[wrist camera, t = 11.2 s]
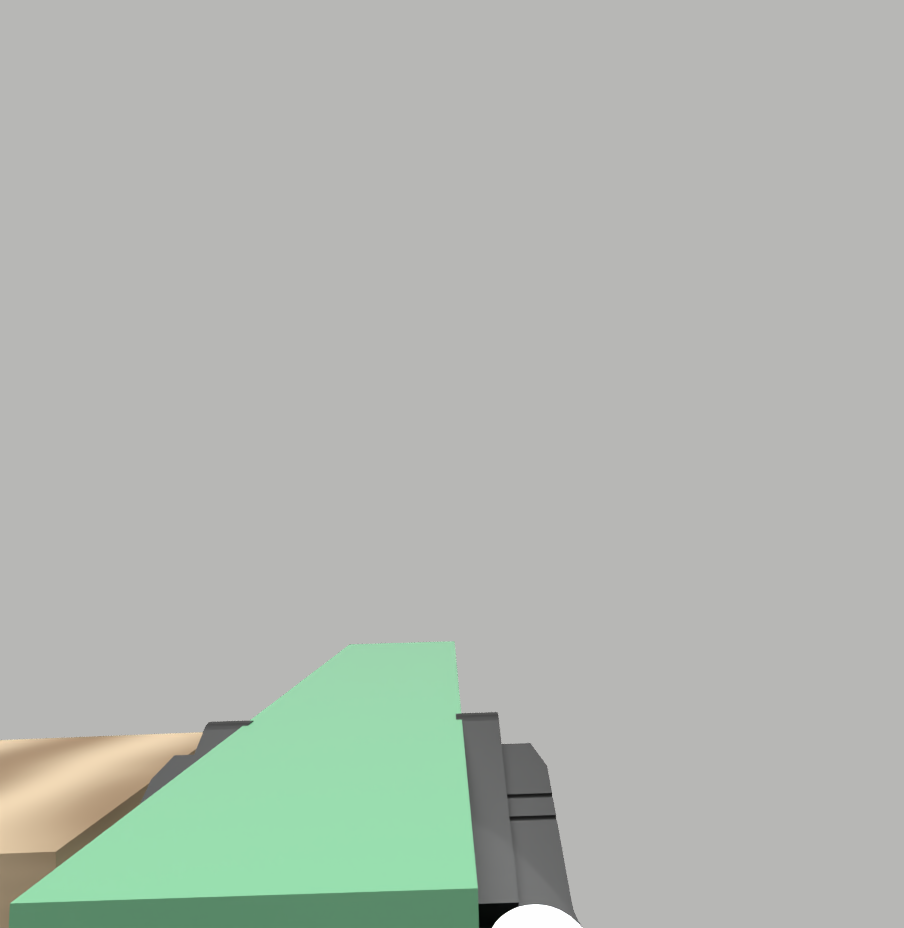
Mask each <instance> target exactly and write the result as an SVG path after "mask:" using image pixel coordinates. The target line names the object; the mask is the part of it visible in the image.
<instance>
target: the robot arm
mask: <svg viewBox="0 0 904 928" xmlns="http://www.w3.org/2000/svg"><path fill="white" fill-rule="evenodd" d="M456 720H462V726H463V737H464V748H465V758H466V769H467V779H468V790H469V800H470V811H471V822H472V832H473V843H474V853H475V864H476V874H477V885H478V911H479V928H582V926H581V925H580V923H579V922H578V920H577V917H576V915H575V913H574V910H573V906H572V902H571V896H570V892H569V885H568V880H567V875H566V869H565V863H564V858H563V852H562V847H561V841H560V836H559V830H558V824H557V821H556V813H555V808H554V802H553V798H552V791H551V786H550V780H549V775H548V769H547V765H546V764H545V763H544V761H543V760H542V759H541V757H540V756H539V755H538V753H537V752H536V750H535V749H534V748H533V746H532V745H531V744H530V743H526V744H501V737H500V729H499V718H498V713H497V712H494V713H493V712H491V713H459V714H456ZM252 722H254V721H226V722H209V723H208V724H207V725H206V727H205V729H204V731H203V734H202V736H201V739H200V741H199V744H198V746H197V749H196V751H195V754H194V755H174V756H173V757H172V758H171V759H170V760H169V761H168V762H167V764H166V765H165V766H164V767H163V768H162V769H161V770H160V771H159V772H158V773H157V774H156V775H155V776H154V777H153V778H152V779H151V781H150V783H149V785H148V787H147V789H146V792H145V794H144V796H143V798H142V800H141V803H142V802H144V801H145V800H146V799H148V798H149V797H150V796H152V795H153V794H154V793H156V792H157V791H158V790H159V789H161V788H162V787H163V786H165V785H166V784H167V783H169V782H170V781H171V780H173V779H174V778H175V777H177V776H178V775H179V774H180V773H182V772H183V771H184V770H186V769H187V768H188V767H190V766H191V765H192V764H194V763H195V762H196V761H198V760H199V759H200V758H201V757H203V756H204V755H205V754H207V753H208V752H209V751H211V750H212V749H213V748H215V747H216V746H217V745H219V744H220V743H221V742H222V741H224V740H225V739H226V738H228V737H229V736H230V735H232V734H233V733H234V732H236V731H237V730H238V729H240V728H241V727H242V726H248V725H250V724H251V723H252ZM141 803H140V804H141Z"/></svg>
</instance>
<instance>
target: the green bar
mask: <svg viewBox="0 0 904 928" xmlns="http://www.w3.org/2000/svg"><path fill="white" fill-rule="evenodd" d="M459 713H461V705H460V695H459V685H458V674H457V664H456V653H455V642H419V643H384V644H350V645H348V646H347V647H346V648H345V649H343V650H342V651H341V652H339V653H338V654H337V655H335V656H334V657H333V658H331V659H330V660H329V661H327V662H326V663H325V664H324V665H322V666H321V667H320V668H318V669H317V670H316V671H314V672H313V673H312V674H311V675H309V676H308V677H306V678H305V679H304V680H303V681H301V682H300V683H299V684H297V685H296V686H295V687H294V688H292V689H291V690H289V691H288V692H287V693H285V694H284V695H283V696H282V697H280V698H279V699H278V700H276V701H275V702H274V703H272V704H271V705H270V706H269V707H267V708H266V709H264V710H263V711H262V712H261V713H259V714H258V715H257V716H255V717H254V718H253V719H252V720H250V721H254V722H252V723H251V724H250V725H248V726H242V727H241V728H240V729H238V730H237V731H236V732H234V733H233V734H232V735H230V736H229V737H228V738H226V739H225V740H224V741H222V742H221V743H220V744H219V745H217V746H216V747H215V748H213V749H212V750H211V751H209V752H208V753H207V754H205V755H204V756H203V757H201V758H200V759H199V760H198V761H196V762H195V763H194V764H192V765H191V766H190V767H188V768H187V769H186V770H184V771H183V772H182V773H180V774H179V775H178V776H177V777H175V778H174V779H173V780H171V781H170V782H169V783H167V784H166V785H165V786H163V787H162V788H161V789H159V790H158V791H157V792H156V793H154V794H153V795H152V796H150V797H149V798H148V799H146V800H145V801H144V802H142V803H141V804H140V805H138V806H137V807H136V808H135V809H133V810H132V811H131V812H129V813H128V814H127V815H125V816H124V817H123V818H121V819H120V820H119V821H117V822H116V823H115V824H114V825H112V826H111V827H110V828H108V829H107V830H106V831H104V832H103V833H102V834H100V835H99V836H98V837H96V838H95V839H94V840H93V841H91V842H90V843H89V844H87V845H86V846H85V847H83V848H82V849H81V850H79V851H78V852H77V853H75V854H74V855H73V856H72V857H70V858H69V859H68V860H66V861H65V862H64V863H62V864H61V865H60V866H58V867H57V868H56V869H54V870H53V871H52V872H51V873H49V874H48V875H47V876H45V877H44V878H43V879H41V880H40V881H39V882H37V883H36V884H35V885H33V886H32V887H31V888H30V889H28V890H27V891H26V892H24V893H23V894H22V895H20V896H19V897H18V898H16V899H15V900H14V901H12V902H11V903H10V911H9V928H479V911H478V885H477V874H476V864H475V853H474V843H473V832H472V822H471V811H470V800H469V790H468V779H467V769H466V758H465V748H464V737H463V726H462V720H456V714H459Z"/></svg>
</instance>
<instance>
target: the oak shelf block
mask: <svg viewBox="0 0 904 928" xmlns="http://www.w3.org/2000/svg"><path fill="white" fill-rule="evenodd" d="M202 734H203V732H199V733H175V734H149V735H123V736H98V737H74V738H72V737H71V738H45V739H20V740H0V928H9V911H10V903H11V902H12V901H14V900H15V899H16V898H18V897H19V896H20V895H22V894H23V893H24V892H26V891H27V890H28V889H30V888H31V887H32V886H33V885H35V884H36V883H37V882H39V881H40V880H41V879H43V878H44V877H45V876H47V875H48V874H49V873H51V872H52V871H53V870H54V869H56V868H57V867H58V866H60V865H61V864H62V863H64V862H65V861H66V860H68V859H69V858H70V857H72V856H73V855H74V854H75V853H77V852H78V851H79V850H81V849H82V848H83V847H85V846H86V845H87V844H89V843H90V842H91V841H93V840H94V839H95V838H96V837H98V836H99V835H100V834H102V833H103V832H104V831H106V830H107V829H108V828H110V827H111V826H112V825H114V824H115V823H116V822H117V821H119V820H120V819H121V818H123V817H124V816H125V815H127V814H128V813H129V812H131V811H132V810H133V809H135V808H136V807H137V806H138V805H140V803H141V800H142V798H143V796H144V794H145V792H146V789H147V787H148V785H149V783H150V781H151V779H152V778H153V777H154V776H155V775H156V774H157V773H158V772H159V771H160V770H161V769H162V768H163V767H164V766H165V765H166V764H167V762H168V761H169V760H170V759H171V758H172V757H173V756H174V755H194V754H195V751H196V749H197V746H198V744H199V741H200V739H201V736H202Z"/></svg>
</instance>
